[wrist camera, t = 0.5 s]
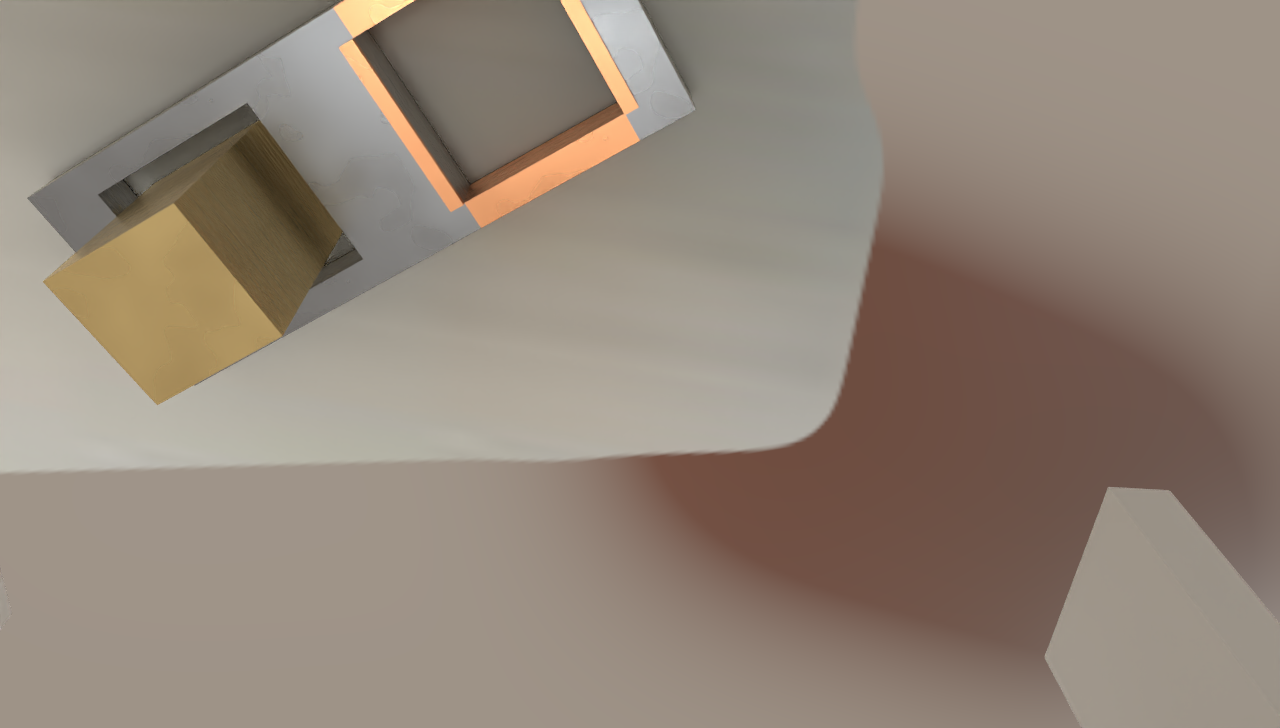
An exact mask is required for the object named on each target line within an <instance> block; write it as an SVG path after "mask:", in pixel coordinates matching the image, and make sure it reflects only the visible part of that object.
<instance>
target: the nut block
mask: <svg viewBox="0 0 1280 728" xmlns="http://www.w3.org/2000/svg"><path fill="white" fill-rule="evenodd" d="M342 232H343V231H342V230H341V228H340V227H339V226H338V224H337V223H336V222H335V220H334V219H333V218H332V216H331V215H330V213H329V212H328V211H327V209H326V208H325V207H324V205H323V204H322V203H321V201H320V200H319V199H318V197H317V196H316V195H315V193H314V192H313V191H312V189H311V188H310V187H309V185H308V184H307V183H306V181H305V180H304V179H303V177H302V176H301V175H300V173H299V172H298V171H297V169H296V168H295V166H294V165H293V164H292V162H291V161H290V160H289V158H288V157H287V156H286V154H285V153H284V152H283V150H282V149H281V148H280V146H279V145H278V144H277V142H276V141H275V140H274V138H273V137H272V136H271V134H270V133H269V132H268V130H267V129H266V128H265V126H264V125H263V124H262V122H261V121H260V120H258V121H257V122H255V123H253V124H252V125H250V126H249V127H247V128H245V129H244V130H242V131H240V132H239V133H237V134H235V135H234V136H232V137H230V138H229V139H227V140H225V141H224V142H222V143H221V144H219V145H217V146H216V147H214V148H212V149H211V150H209V151H207V152H206V153H204V154H202V155H201V156H199V157H197V158H196V159H194V160H192V161H191V162H189V163H188V164H186V165H184V166H183V167H181V168H179V169H178V170H176V171H174V172H173V173H171V174H169V175H168V176H166V177H164V178H163V179H161V180H159V181H158V182H156V183H155V184H153V185H152V186H151V187H150V188H149V189H147V190H146V191H145V192H144V193H143V194H142V195H141V196H139V197H138V198H137V199H136V200H135V201H134V202H133V203H132V204H130V205H129V206H128V207H127V208H126V209H125V210H124V211H122V212H121V213H120V214H119V215H118V216H117V217H116V218H114V219H113V220H112V221H111V222H110V223H109V224H108V225H107V226H105V227H104V228H103V229H102V230H101V231H100V232H99V233H97V234H96V235H95V236H94V237H93V238H92V239H91V240H90V241H88V242H87V243H86V244H85V245H84V246H83V247H82V248H80V249H79V250H78V251H77V252H76V253H75V254H74V255H72V256H71V257H70V258H69V259H68V260H67V261H66V262H65V263H63V264H62V265H61V266H60V267H59V268H58V269H57V270H55V271H54V272H53V273H52V274H51V275H50V276H49V277H47V278H46V279H45V280H44V281H43V282H44V283H45V284H46V286H47V287H48V288H49V289H50V290H51V291H52V292H53V293H54V294H55V295H56V296H57V297H58V299H59V300H60V301H61V302H62V303H63V304H64V305H65V306H66V307H67V308H68V309H69V310H70V311H71V313H72V314H73V315H74V316H75V317H76V318H77V319H78V320H79V321H80V322H81V323H82V324H83V326H84V327H85V328H86V329H87V330H88V331H89V332H90V333H91V334H92V335H93V336H94V337H95V339H96V340H97V341H98V342H99V343H100V344H101V345H102V346H103V347H104V348H105V349H106V350H107V351H108V353H109V354H110V355H111V356H112V357H113V358H114V359H115V360H116V361H117V362H118V363H119V364H120V366H121V367H122V368H123V369H124V370H125V371H126V372H127V373H128V374H129V375H130V376H131V377H132V378H133V380H134V381H135V382H136V383H137V384H138V385H139V386H140V387H141V388H142V389H143V390H144V391H145V393H146V394H147V395H148V396H149V397H150V398H151V399H152V400H153V401H154V402H155V403H156V404H157V405H158V404H160V403H162V402H164V401H166V400H168V399H169V398H171V397H173V396H175V395H177V394H178V393H180V392H182V391H184V390H186V389H187V388H189V387H191V386H193V385H195V384H197V383H198V382H200V381H202V380H204V379H206V378H207V377H209V376H211V375H213V374H215V373H217V372H218V371H220V370H222V369H224V368H226V367H227V366H229V365H231V364H233V363H235V362H237V361H238V360H240V359H242V358H244V357H246V356H247V355H249V354H251V353H253V352H255V351H257V350H258V349H260V348H262V347H264V346H266V345H267V344H269V343H271V342H273V341H275V340H277V339H278V338H280V337H282V336H283V335H284V333H285V331H286V329H287V328H288V326H289V324H290V322H291V321H292V319H293V317H294V316H295V314H296V312H297V310H298V309H299V307H300V305H301V303H302V302H303V300H304V298H305V296H306V295H307V293H308V291H309V290H310V288H311V286H312V284H313V283H314V281H315V279H316V277H317V276H318V274H319V272H320V271H321V269H322V267H323V265H324V264H325V262H326V260H327V258H328V257H329V255H330V253H331V251H332V250H333V248H334V246H335V245H336V243H337V241H338V239H339V238H340V236H341V234H342Z"/></svg>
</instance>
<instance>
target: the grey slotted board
mask: <svg viewBox="0 0 1280 728" xmlns="http://www.w3.org/2000/svg"><path fill="white" fill-rule="evenodd" d="M413 1H415V0H341V1H339V2H338V3H336V4H334V5H333V6H331V7H330V8H328V9H326V10H325V11H323V12H322V13H320V14H318V15H317V16H315V17H314V18H312V19H310V20H309V21H307V22H306V23H304V24H302V25H301V26H299V27H297V28H296V29H294V30H293V31H291V32H289V33H288V34H286V35H285V36H283V37H281V38H280V39H278V40H277V41H275V42H273V43H272V44H270V45H269V46H267V47H265V48H264V49H262V50H261V51H259V52H257V53H256V54H254V55H253V56H251V57H249V58H248V59H246V60H245V61H243V62H241V63H240V64H238V65H237V66H235V67H233V68H232V69H230V70H228V71H227V72H225V73H224V74H222V75H220V76H219V77H217V78H216V79H214V80H212V81H211V82H209V83H208V84H206V85H204V86H203V87H201V88H200V89H198V90H196V91H195V92H193V93H192V94H190V95H188V96H187V97H185V98H184V99H182V100H180V101H179V102H177V103H176V104H174V105H172V106H171V107H169V108H168V109H166V110H164V111H163V112H161V113H159V114H158V115H156V116H155V117H153V118H151V119H150V120H148V121H147V122H145V123H143V124H142V125H140V126H139V127H137V128H135V129H134V130H132V131H131V132H129V133H127V134H126V135H124V136H123V137H121V138H119V139H118V140H116V141H115V142H113V143H111V144H110V145H108V146H107V147H105V148H103V149H102V150H100V151H99V152H97V153H95V154H94V155H92V156H90V157H89V158H87V159H86V160H84V161H82V162H81V163H79V164H78V165H76V166H74V167H73V168H71V169H70V170H68V171H66V172H65V173H63V174H62V175H60V176H58V177H57V178H55V179H54V180H52V181H51V182H49V183H48V184H46V185H45V186H44V187H42V188H41V189H39V190H38V191H37V192H35V193H34V194H32V195H31V196H30V197H28V199H29V201H30V202H31V203H32V204H33V205H34V206H35V207H36V208H37V209H38V211H39V212H40V213H41V214H42V215H43V216H44V217H45V218H46V220H47V221H48V222H49V223H50V224H51V225H52V226H53V227H54V229H55V230H56V231H57V232H58V233H59V234H60V235H61V236H62V237H63V239H64V240H65V241H66V242H67V243H68V244H69V245H70V246H71V248H72V249H73V250H74V251H75V252H77V251H78V250H79V249H80V248H82V247H83V246H84V245H85V244H86V243H87V242H88V241H90V240H91V239H92V238H93V237H94V236H95V235H96V234H97V233H99V232H100V231H101V230H102V229H103V228H104V227H105V226H107V225H108V224H109V223H110V222H111V221H112V220H113V219H114V218H116V217H117V216H118V215H119V214H120V213H121V212H122V211H124V210H125V209H126V208H127V207H128V206H129V205H130V204H132V203H133V202H134V201H135V200H136V199H137V198H138V197H137V196H136V195H135V194H134V192H133V191H132V190H131V189H130V188H129V186H128V185H127V184H126V183H125V182H124V180H123V179H124V178H126V177H127V176H129V175H130V174H132V173H134V172H135V171H137V170H139V169H140V168H142V167H144V166H145V165H147V164H148V163H150V162H152V161H153V160H155V159H157V158H158V157H160V156H161V155H163V154H165V153H166V152H168V151H170V150H171V149H173V148H175V147H176V146H178V145H179V144H181V143H183V142H184V141H186V140H188V139H189V138H191V137H193V136H194V135H196V134H197V133H199V132H201V131H202V130H204V129H206V128H207V127H209V126H210V125H212V124H214V123H215V122H217V121H219V120H220V119H222V118H224V117H225V116H227V115H228V114H230V113H232V112H233V111H235V110H237V109H238V108H240V107H242V106H243V105H245V104H246V103H248V105H249V106H250V107H251V109H252V110H253V111H254V113H255V114H256V115H257V117H258V118H259V119H260V121H261V122H262V124H263V125H264V126H265V128H266V129H267V130H268V132H269V133H270V134H271V136H272V137H273V138H274V140H275V141H276V142H277V144H278V145H279V146H280V148H281V149H282V150H283V152H284V153H285V154H286V156H287V157H288V158H289V160H290V161H291V162H292V164H293V165H294V166H295V168H296V169H297V171H298V172H299V173H300V175H301V176H302V177H303V179H304V180H305V181H306V183H307V184H308V185H309V187H310V188H311V189H312V191H313V192H314V193H315V195H316V196H317V197H318V199H319V200H320V201H321V203H322V204H323V205H324V207H325V208H326V209H327V211H328V212H329V213H330V215H331V216H332V218H333V219H334V220H335V222H336V223H337V224H338V226H339V227H340V228H341V230H342V231H343V232H344V234H345V235H346V236H347V238H348V239H349V240H350V242H351V243H352V244H353V246H354V247H355V248H356V249H355V250H353V251H351V252H350V253H348V254H346V255H344V256H342V257H341V258H339V259H337V260H335V261H334V262H332V263H330V264H328V265H326V266H325V267H323V268H322V269H321V271H320V272H319V274H318V276H317V277H316V279H315V281H314V283H313V284H312V286H311V288H310V290H309V291H308V293H307V295H306V296H305V298H304V300H303V302H302V303H301V305H300V307H299V309H298V310H297V312H296V314H295V316H294V317H293V319H292V321H291V322H290V324H289V326H288V328H287V329H286V331H285V333H284V335H283V336H282V337H284V336H286V335H288V334H289V333H291V332H293V331H295V330H297V329H298V328H300V327H302V326H304V325H306V324H308V323H309V322H311V321H313V320H315V319H317V318H318V317H320V316H322V315H324V314H326V313H328V312H329V311H331V310H333V309H335V308H337V307H338V306H340V305H342V304H344V303H346V302H348V301H349V300H351V299H353V298H355V297H357V296H358V295H360V294H362V293H364V292H366V291H368V290H369V289H371V288H373V287H375V286H377V285H378V284H380V283H382V282H384V281H386V280H388V279H389V278H391V277H393V276H395V275H397V274H398V273H400V272H402V271H404V270H406V269H408V268H409V267H411V266H413V265H415V264H417V263H418V262H420V261H422V260H424V259H426V258H428V257H429V256H431V255H433V254H435V253H437V252H438V251H440V250H442V249H444V248H446V247H448V246H449V245H451V244H453V243H455V242H457V241H458V240H460V239H462V238H464V237H466V236H468V235H469V234H471V233H473V232H475V231H477V230H478V229H480V228H482V227H484V226H486V225H488V224H489V223H491V222H493V221H495V220H497V219H498V218H500V217H502V216H504V215H506V214H508V213H509V212H511V211H513V210H515V209H517V208H518V207H520V206H522V205H524V204H526V203H528V202H529V201H531V200H533V199H535V198H537V197H538V196H540V195H542V194H544V193H546V192H548V191H549V190H551V189H553V188H555V187H557V186H558V185H560V184H562V183H564V182H566V181H568V180H569V179H571V178H573V177H575V176H577V175H578V174H580V173H582V172H584V171H586V170H588V169H589V168H591V167H593V166H595V165H597V164H598V163H600V162H602V161H604V160H606V159H608V158H609V157H611V156H613V155H615V154H617V153H618V152H620V151H622V150H624V149H626V148H628V147H629V146H631V145H633V144H635V143H637V142H638V141H640V140H642V139H644V138H646V137H647V136H649V135H651V134H653V133H655V132H657V131H658V130H660V129H662V128H664V127H666V126H667V125H669V124H671V123H673V122H675V121H677V120H678V119H680V118H682V117H684V116H686V115H687V114H689V113H691V112H693V111H695V110H696V109H695V106H694V103H693V100H692V97H691V94H690V92H689V91H688V89H687V87H686V85H685V83H684V81H683V79H682V77H681V75H680V73H679V72H678V70H677V68H676V66H675V64H674V62H673V60H672V58H671V56H670V54H669V53H668V51H667V49H666V47H665V45H664V43H663V41H662V39H661V37H660V35H659V34H658V32H657V30H656V28H655V26H654V24H653V22H652V20H651V18H650V16H649V15H648V13H647V11H646V9H645V7H644V5H643V3H642V1H641V0H560V1H561V3H562V4H563V6H564V8H565V10H566V11H567V13H568V15H569V17H570V18H571V20H572V22H573V24H574V26H575V27H576V29H577V31H578V33H579V34H580V36H581V38H582V40H583V42H584V43H585V45H586V47H587V49H588V50H589V52H590V54H591V56H592V58H593V59H594V61H595V63H596V65H597V66H598V68H599V70H600V72H601V73H602V75H603V77H604V79H605V81H606V82H607V84H608V86H609V88H610V89H611V91H612V93H613V95H614V97H615V98H616V100H617V103H615V104H613V105H611V106H610V107H608V108H606V109H604V110H602V111H601V112H599V113H597V114H595V115H594V116H592V117H590V118H588V119H586V120H585V121H583V122H581V123H579V124H578V125H576V126H574V127H572V128H570V129H569V130H567V131H565V132H563V133H561V134H560V135H558V136H556V137H554V138H553V139H551V140H549V141H547V142H545V143H544V144H542V145H540V146H538V147H537V148H535V149H533V150H531V151H529V152H528V153H526V154H524V155H522V156H521V157H519V158H517V159H515V160H513V161H512V162H510V163H508V164H506V165H505V166H503V167H501V168H499V169H497V170H496V171H494V172H492V173H490V174H488V175H487V176H485V177H483V178H481V179H480V180H478V181H476V182H474V183H472V184H471V185H470V184H469V182H468V181H467V179H466V178H465V176H464V175H463V173H462V172H461V170H460V169H459V167H458V166H457V164H456V163H455V161H454V160H453V158H452V157H451V155H450V154H449V152H448V151H447V149H446V148H445V146H444V145H443V143H442V142H441V140H440V139H439V137H438V136H437V134H436V133H435V131H434V130H433V128H432V127H431V125H430V123H429V122H428V120H427V119H426V117H425V116H424V114H423V113H422V111H421V110H420V108H419V107H418V105H417V104H416V102H415V101H414V99H413V98H412V96H411V95H410V93H409V92H408V90H407V89H406V87H405V86H404V84H403V83H402V81H401V80H400V78H399V77H398V75H397V74H396V72H395V71H394V69H393V68H392V66H391V65H390V63H389V62H388V60H387V59H386V57H385V56H384V54H383V53H382V51H381V50H380V48H379V46H378V45H377V43H376V42H375V40H374V39H373V37H372V36H371V34H370V33H369V31H368V30H367V29H369V28H371V27H372V26H374V25H375V24H377V23H379V22H380V21H382V20H384V19H385V18H387V17H388V16H390V15H392V14H393V13H395V12H397V11H398V10H400V9H402V8H403V7H405V6H406V5H408V4H410V3H411V2H413ZM282 337H280V338H282ZM280 338H278V339H280ZM278 339H277V340H278ZM277 340H275V341H277ZM275 341H273V342H275ZM273 342H271V343H273ZM271 343H269V344H271ZM269 344H267V345H266V346H268V345H269ZM266 346H264V347H266ZM264 347H262V348H264ZM262 348H260V349H262ZM260 349H258V350H260ZM258 350H257V351H258ZM257 351H255V352H257ZM255 352H253V353H255ZM253 353H251V354H253ZM251 354H249V355H251ZM249 355H247V356H246V357H248V356H249ZM246 357H244V358H246ZM244 358H242V359H244ZM242 359H240V360H242ZM240 360H238V361H240ZM238 361H237V362H238ZM237 362H235V363H237ZM235 363H233V364H235ZM233 364H231V365H233ZM231 365H229V366H231ZM229 366H227V367H226V368H228V367H229ZM226 368H224V369H226ZM224 369H222V370H224ZM222 370H220V371H222ZM220 371H218V372H220ZM218 372H217V373H218ZM217 373H215V374H217ZM215 374H213V375H215ZM213 375H211V376H213ZM211 376H209V377H211ZM209 377H207V378H206V379H208V378H209ZM206 379H204V380H206ZM204 380H202V381H204ZM202 381H200V382H202ZM200 382H198V383H200ZM198 383H197V384H198ZM197 384H195V385H197Z"/></svg>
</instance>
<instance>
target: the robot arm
mask: <svg viewBox="0 0 1280 728" xmlns="http://www.w3.org/2000/svg"><path fill="white" fill-rule="evenodd" d="M11 615H12V611H11V607H10V603H9V600H8V595H7V592H6V588H5V584H4V580H3V576H2V573H1V568H0V630H1V629H2V627H3V626H4V624H5V623H6V622H7V620H8V619H9V618H10V616H11ZM1045 659H1046V661H1047V663H1048V665H1049V667H1050V669H1051V671H1052V673H1053V675H1054V677H1055V679H1056V680H1057V682H1058V684H1059V686H1060V688H1061V690H1062V691H1063V694H1064V696H1065V698H1066V700H1067V701H1068V703H1069V705H1070V707H1071V709H1072V711H1073V713H1074V715H1075V717H1076V719H1077V721H1078V723H1079V724H1080V726H1081V728H1280V623H1279V622H1278V621H1277V620H1276V618H1275V617H1274V616H1273V615H1272V613H1271V612H1270V611H1269V610H1268V609H1267V607H1266V606H1265V605H1264V604H1263V602H1262V601H1261V600H1260V599H1259V598H1258V596H1257V595H1256V594H1255V593H1254V592H1253V590H1252V589H1251V588H1250V587H1249V586H1248V584H1247V583H1246V582H1245V581H1244V580H1243V578H1242V577H1241V576H1240V575H1239V574H1238V572H1237V571H1236V570H1235V569H1234V568H1233V566H1232V565H1231V564H1230V563H1229V562H1228V560H1227V559H1226V558H1225V557H1224V556H1223V554H1222V553H1221V552H1220V551H1219V550H1218V548H1217V547H1216V546H1215V545H1214V543H1213V542H1212V541H1211V540H1210V539H1209V537H1208V536H1207V535H1206V534H1205V533H1204V531H1203V530H1202V529H1201V528H1200V527H1199V525H1198V524H1197V523H1196V522H1195V521H1194V520H1193V518H1192V517H1191V516H1190V515H1189V513H1188V512H1187V511H1186V510H1185V509H1184V507H1183V506H1182V505H1181V504H1180V503H1179V501H1178V500H1177V499H1176V498H1175V497H1174V496H1173V494H1172V493H1171V492H1170V490H1151V489H1133V488H1116V487H1108V490H1107V492H1106V495H1105V497H1104V500H1103V503H1102V506H1101V508H1100V511H1099V513H1098V516H1097V519H1096V521H1095V524H1094V527H1093V529H1092V532H1091V535H1090V537H1089V540H1088V543H1087V545H1086V548H1085V551H1084V553H1083V556H1082V559H1081V562H1080V564H1079V567H1078V569H1077V572H1076V575H1075V578H1074V580H1073V583H1072V585H1071V588H1070V591H1069V593H1068V596H1067V599H1066V601H1065V604H1064V607H1063V609H1062V612H1061V615H1060V617H1059V620H1058V623H1057V626H1056V628H1055V631H1054V633H1053V636H1052V639H1051V642H1050V644H1049V647H1048V650H1047V652H1046V655H1045Z"/></svg>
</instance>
